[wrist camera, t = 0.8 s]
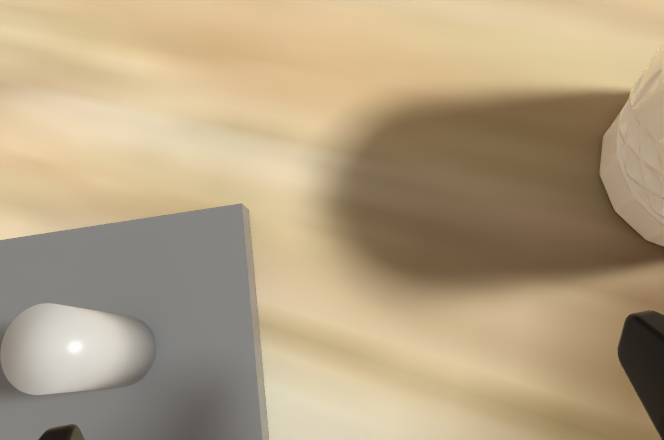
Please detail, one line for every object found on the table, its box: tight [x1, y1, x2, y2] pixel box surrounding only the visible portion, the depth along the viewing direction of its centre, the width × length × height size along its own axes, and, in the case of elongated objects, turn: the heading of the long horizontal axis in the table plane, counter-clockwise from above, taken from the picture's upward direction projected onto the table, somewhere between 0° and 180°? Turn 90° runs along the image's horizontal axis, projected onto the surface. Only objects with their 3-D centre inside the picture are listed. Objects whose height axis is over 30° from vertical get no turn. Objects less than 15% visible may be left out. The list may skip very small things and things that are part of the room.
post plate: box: [0, 204, 269, 440], centre depth 20 cm, size 10×10×6 cm
